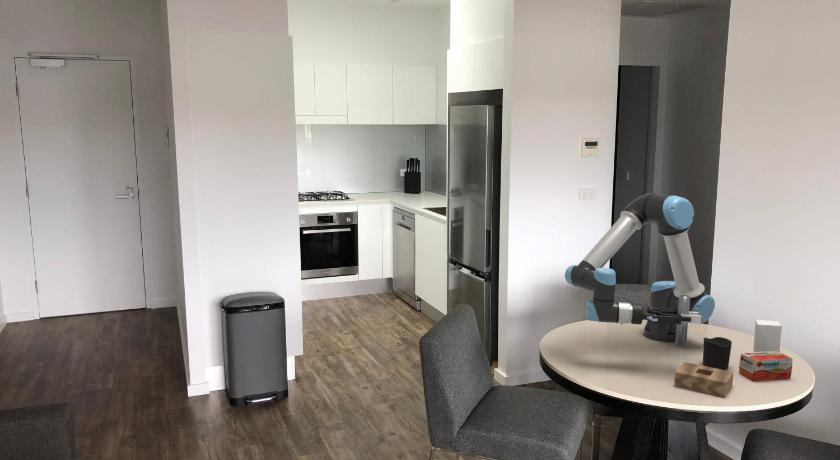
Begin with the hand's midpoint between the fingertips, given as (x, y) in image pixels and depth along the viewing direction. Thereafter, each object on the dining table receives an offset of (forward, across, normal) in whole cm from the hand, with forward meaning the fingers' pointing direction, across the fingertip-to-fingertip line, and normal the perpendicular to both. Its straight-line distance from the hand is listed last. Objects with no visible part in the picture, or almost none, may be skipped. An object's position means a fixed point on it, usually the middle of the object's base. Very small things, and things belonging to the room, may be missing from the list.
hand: (699, 317), depth 242 cm
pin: (-5, 0, -10) cm, 12 cm away
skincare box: (+28, -16, -20) cm, 38 cm away
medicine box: (+24, -1, -20) cm, 31 cm away
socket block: (0, +13, -20) cm, 24 cm away
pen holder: (+9, -7, -20) cm, 23 cm away
